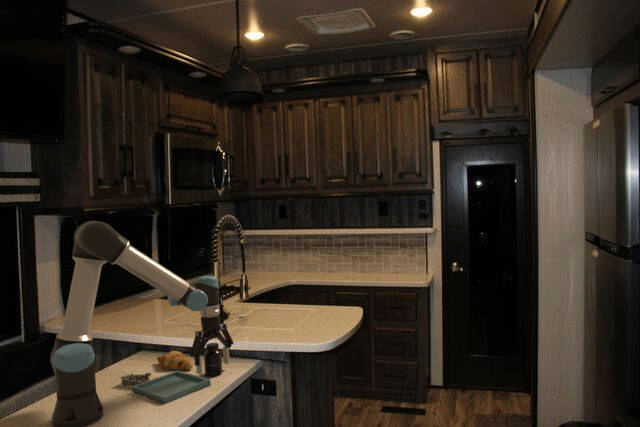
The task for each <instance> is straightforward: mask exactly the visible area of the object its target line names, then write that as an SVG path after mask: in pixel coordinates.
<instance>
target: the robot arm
mask: <svg viewBox="0 0 640 427" xmlns="http://www.w3.org/2000/svg"><path fill="white" fill-rule="evenodd" d="M73 235H74V236H73V242H74V244H73V249H72V254H71V255H72V256H71V259H73V261H74V262H75V264H74V270H73V273H72V279H71V284H70V290H69V296H68V299H67V305H66V310H65V315H64V321H63V326H62V331H61V332H59V333H58V334H56V335H55V336H56V337H55V341H54V347H53V349H52V351H51V353H50V359H49V361H50V364H51V367H52V369H53V373H54V378H55V379H54V380H55V393H56V401H55V402H56V403H55V404H54V409H53V412H52V416H51V426H52V427H86V426H90V425H92V424H95V423H96V422H98V421H100V420H101V419H102V418H103V417H104V415H105V413H104V407H103V404H102V401H101V399H100V397H99V396H98V393H97V382H96V367H95V357H96V356H95V355H96V354H95V353H94V348H93V346H92V344H93V340H94V338H93V336H92V335H91V334H90V330H91V325H92V319H93V314H94V309H95V304H96V300H97V299H96V298H97V294H98V293H97V292H98V288H99V283H100V277H101V273H102V272H101V271H102V266H103V265H105V264H106V263H108V264H110V265H118V266H120V267H121V268H123V269H124V270H126V271H128V272H129V273H131V274H133V275H134V276H136V277H137V278H139V279H140V280H142V281H144V282H145V283H147V284H149V285H150V286H151V287H153V288H155V289H157V290H158V291H160V292H162V293H164V294H165V295H166V296H167V300H168V303H169V305H170V306H171V307H176V306H177V307H179V306H183V307H185V308H187V309H188V310H190V311H192V312H200V314H199V316H200V324H201V330H196V331H195V332H194V333H195V335H194V339H193V343H192V346H191V350H190V352H189V357H190V358H193V359H194V365H195V367H196V373H197V374H200V375H202V374H203V373H204V372H203V371H204V370H203V357H202V353H203V351H204V350H205V347H206V345H207V344H208V342H209V341H212V340H213V339H217V340H218V341H219V342H220V343H221V344H222V345H223V347H222V359H223V360H222V362H223V364H226V365H230V355H231V349H230V348H232V347H233V346H232V345H234V343H235V342H234V340H233V338H232V337H231V334H230V333H229V331H228V328H227V324H226V323H222V322H221V315H220V313H221V310H220V308H221V307H220V294H219V293H220V292H219V290H220V287H219V281H218V279H219V278H218V277H217V276H214V275H204V276H200V277H198V281H197V282H194V283H189V282H188V281H186V280H185V279H183V278H182V277H180V276H178V275H177V274H175V273H174V272H172V271H171V270H170V269H167V268H166V267H165V266H163V265H162V264H160V263H159V262H157V261H155V260H154V259H152V258H151V257H149V256H148V255H146V254H145V253H144V252H141V251H140V250H138V248H135V247H134V246H132V245H131V243H130V240H129V239H128V238H125V237H124V236H123V235H121V234H120V233H119V232H117V231H116V230H115V229H114V228H113V227H112V226H111V225H109V224H108V223H105V222H103V221H97V220H96V221H95V220H89V221H86V222H83V223H82V224H81V225H79V226H78V227H77V229H76V230H75V232H74V234H73Z"/></svg>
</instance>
